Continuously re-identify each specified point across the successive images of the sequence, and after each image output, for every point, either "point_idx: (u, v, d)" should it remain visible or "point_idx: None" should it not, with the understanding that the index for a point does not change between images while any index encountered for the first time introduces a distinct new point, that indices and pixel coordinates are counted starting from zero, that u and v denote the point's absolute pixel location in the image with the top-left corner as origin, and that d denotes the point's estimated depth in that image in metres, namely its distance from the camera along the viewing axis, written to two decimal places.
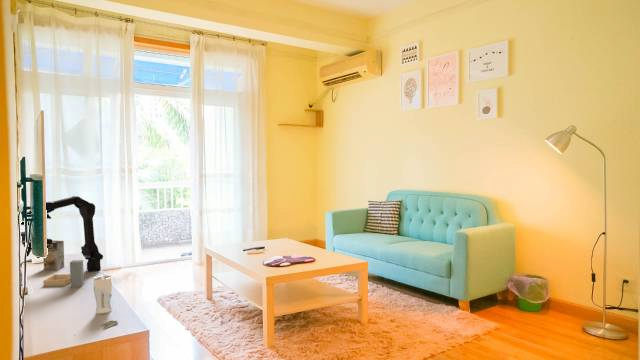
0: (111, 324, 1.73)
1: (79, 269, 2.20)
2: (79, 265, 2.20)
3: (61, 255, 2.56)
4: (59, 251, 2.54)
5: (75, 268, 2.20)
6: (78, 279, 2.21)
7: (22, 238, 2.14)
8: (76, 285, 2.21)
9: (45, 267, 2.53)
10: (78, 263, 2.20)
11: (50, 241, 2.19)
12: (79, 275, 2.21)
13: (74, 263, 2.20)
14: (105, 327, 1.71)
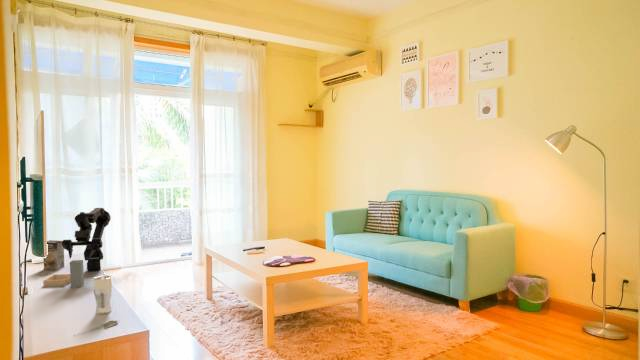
0: (111, 324, 1.73)
1: (79, 269, 2.20)
2: (79, 265, 2.20)
3: (61, 255, 2.56)
4: (59, 251, 2.54)
5: (75, 268, 2.20)
6: (78, 279, 2.21)
7: (82, 234, 2.28)
8: (76, 285, 2.21)
9: (45, 267, 2.53)
10: (78, 263, 2.20)
11: (102, 243, 2.37)
12: (79, 275, 2.21)
13: (74, 263, 2.20)
14: (105, 327, 1.71)
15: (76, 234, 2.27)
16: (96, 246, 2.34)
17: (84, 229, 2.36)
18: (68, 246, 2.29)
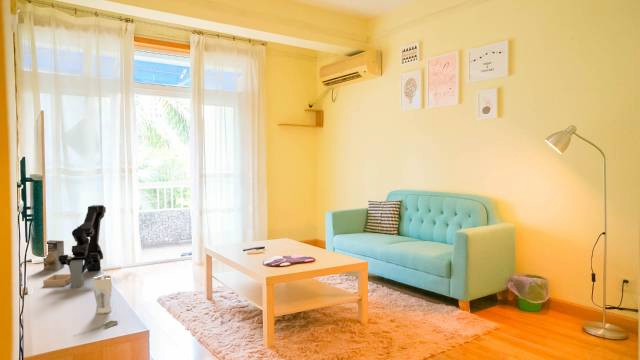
0: (111, 324, 1.73)
1: (79, 269, 2.20)
2: (79, 265, 2.20)
3: None
4: (59, 251, 2.54)
5: (75, 268, 2.20)
6: (78, 279, 2.21)
7: (79, 249, 2.22)
8: (76, 285, 2.21)
9: (45, 267, 2.53)
10: (78, 263, 2.20)
11: (99, 258, 2.31)
12: (79, 275, 2.21)
13: (74, 263, 2.20)
14: (105, 327, 1.71)
15: (73, 249, 2.22)
16: (89, 261, 2.27)
17: (81, 244, 2.30)
18: (69, 261, 2.23)
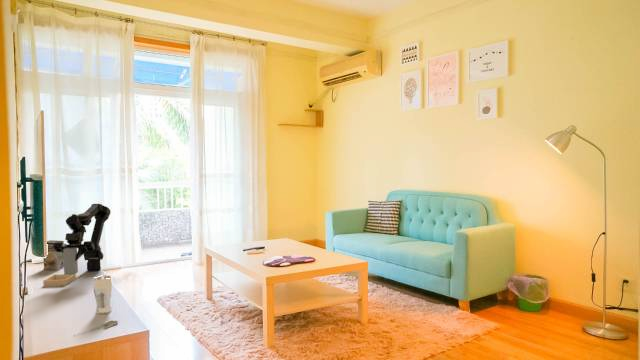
0: (111, 324, 1.73)
1: (72, 257, 2.21)
2: (72, 253, 2.21)
3: (61, 255, 2.56)
4: None
5: (68, 255, 2.20)
6: (72, 266, 2.21)
7: (73, 237, 2.22)
8: (69, 272, 2.21)
9: (45, 267, 2.53)
10: (71, 251, 2.20)
11: (94, 246, 2.31)
12: (72, 263, 2.21)
13: (67, 251, 2.20)
14: (105, 327, 1.71)
15: (67, 237, 2.22)
16: (84, 249, 2.27)
17: (76, 231, 2.30)
18: (63, 249, 2.24)
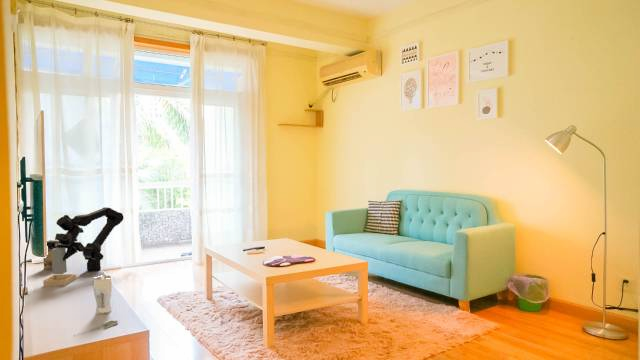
0: (111, 324, 1.73)
1: (59, 257, 2.25)
2: (59, 253, 2.25)
3: None
4: None
5: (55, 255, 2.25)
6: (58, 266, 2.25)
7: (61, 237, 2.27)
8: (57, 272, 2.26)
9: (45, 267, 2.53)
10: (58, 251, 2.25)
11: (83, 247, 2.33)
12: (59, 262, 2.25)
13: (55, 250, 2.25)
14: (105, 327, 1.71)
15: (56, 237, 2.27)
16: (73, 250, 2.31)
17: (69, 232, 2.35)
18: None
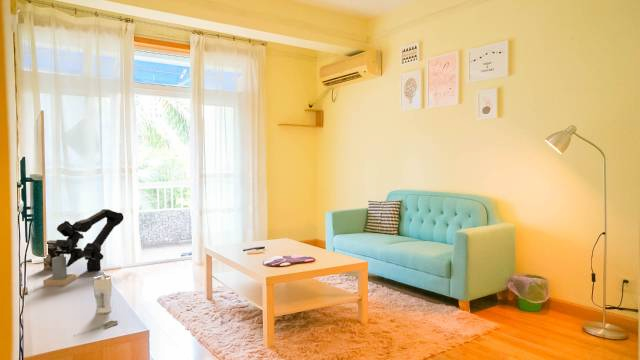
0: (111, 324, 1.73)
1: (59, 265, 2.25)
2: (59, 262, 2.25)
3: (61, 255, 2.56)
4: None
5: (56, 264, 2.25)
6: (59, 275, 2.26)
7: (61, 243, 2.27)
8: None
9: (45, 267, 2.53)
10: (58, 260, 2.25)
11: (84, 253, 2.33)
12: (59, 271, 2.25)
13: (55, 259, 2.25)
14: (105, 327, 1.71)
15: (56, 243, 2.27)
16: (76, 256, 2.31)
17: (70, 238, 2.35)
18: (51, 254, 2.30)
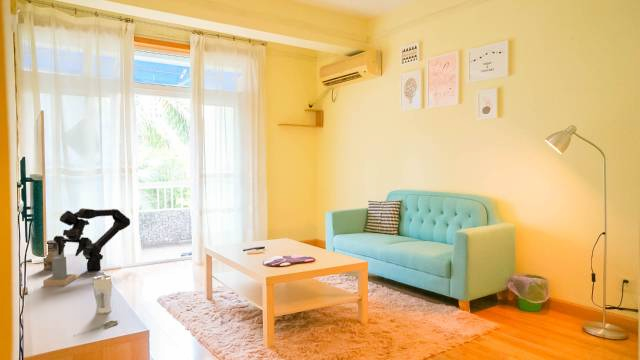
0: (111, 324, 1.73)
1: (59, 265, 2.25)
2: (59, 262, 2.25)
3: (61, 255, 2.56)
4: None
5: (56, 264, 2.25)
6: (59, 275, 2.26)
7: (69, 234, 2.32)
8: None
9: (45, 267, 2.53)
10: (58, 260, 2.25)
11: (91, 242, 2.40)
12: (59, 271, 2.26)
13: (55, 259, 2.25)
14: (105, 327, 1.71)
15: (64, 233, 2.32)
16: (84, 245, 2.37)
17: (76, 226, 2.40)
18: (58, 243, 2.35)
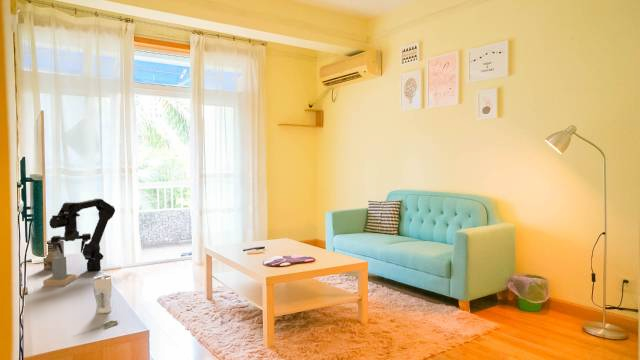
0: (111, 324, 1.73)
1: (59, 265, 2.25)
2: (59, 262, 2.25)
3: (61, 255, 2.56)
4: (59, 251, 2.54)
5: (56, 264, 2.25)
6: (59, 275, 2.26)
7: (73, 239, 2.31)
8: None
9: (45, 267, 2.53)
10: (58, 260, 2.25)
11: (90, 235, 2.43)
12: (59, 271, 2.26)
13: (55, 259, 2.25)
14: (105, 327, 1.71)
15: (66, 239, 2.30)
16: None
17: (70, 225, 2.35)
18: (58, 244, 2.34)
